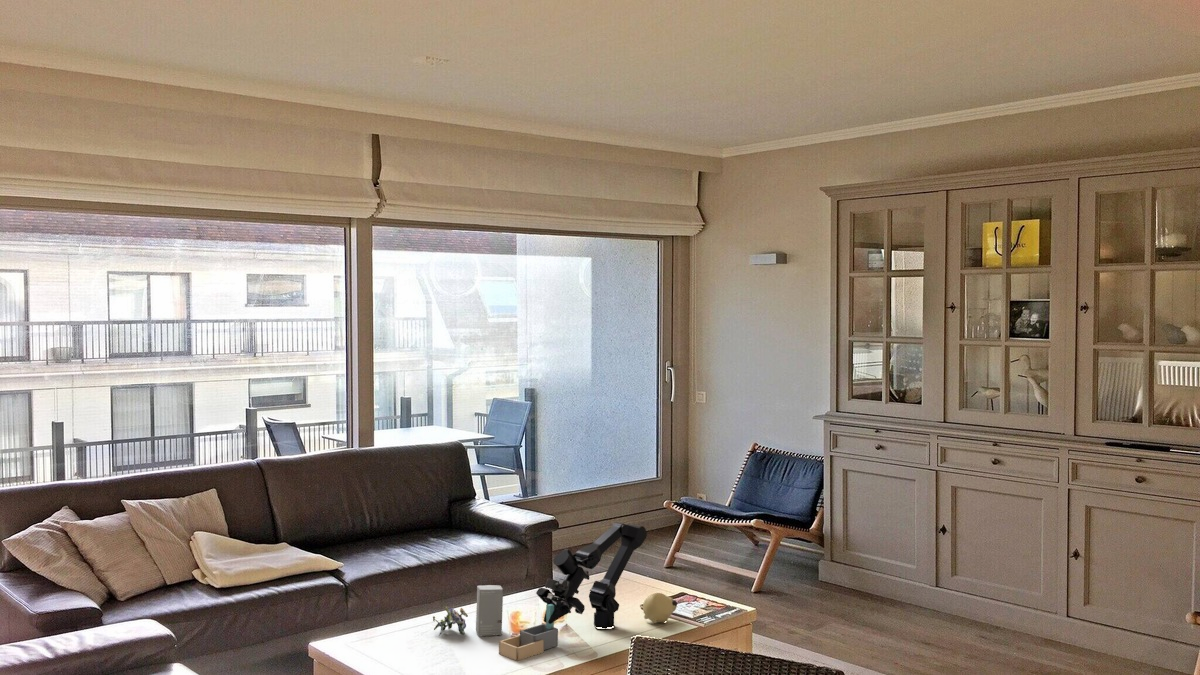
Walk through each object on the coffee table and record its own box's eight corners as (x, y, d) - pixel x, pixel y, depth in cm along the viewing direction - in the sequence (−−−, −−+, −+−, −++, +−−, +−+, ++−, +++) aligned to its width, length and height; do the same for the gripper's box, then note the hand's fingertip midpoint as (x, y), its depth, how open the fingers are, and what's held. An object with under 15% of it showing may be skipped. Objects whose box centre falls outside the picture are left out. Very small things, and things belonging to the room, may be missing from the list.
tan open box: (524, 645, 318) (525, 633, 318) (543, 652, 312) (543, 640, 312) (498, 653, 310) (499, 641, 310) (517, 660, 304) (517, 648, 304)
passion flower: (461, 650, 329) (472, 627, 323) (430, 648, 325) (441, 624, 319) (458, 623, 338) (469, 600, 332) (428, 620, 334) (438, 597, 328)
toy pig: (681, 623, 344) (681, 593, 344) (654, 629, 337) (654, 598, 337) (664, 616, 352) (665, 587, 352) (637, 621, 345) (638, 591, 345)
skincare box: (478, 637, 326) (478, 590, 326) (475, 630, 333) (475, 584, 333) (503, 635, 328) (503, 588, 328) (499, 628, 335) (500, 583, 335)
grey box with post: (544, 640, 323) (544, 602, 323) (559, 645, 318) (559, 606, 318) (519, 647, 315) (520, 608, 315) (534, 653, 310) (534, 613, 310)
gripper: (540, 563, 329) (515, 602, 321) (578, 574, 316) (553, 615, 308) (557, 582, 335) (532, 621, 327) (595, 593, 322) (571, 634, 314)
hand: (546, 622), depth 319 cm, fingers closed on grey box with post, 2 cm apart
